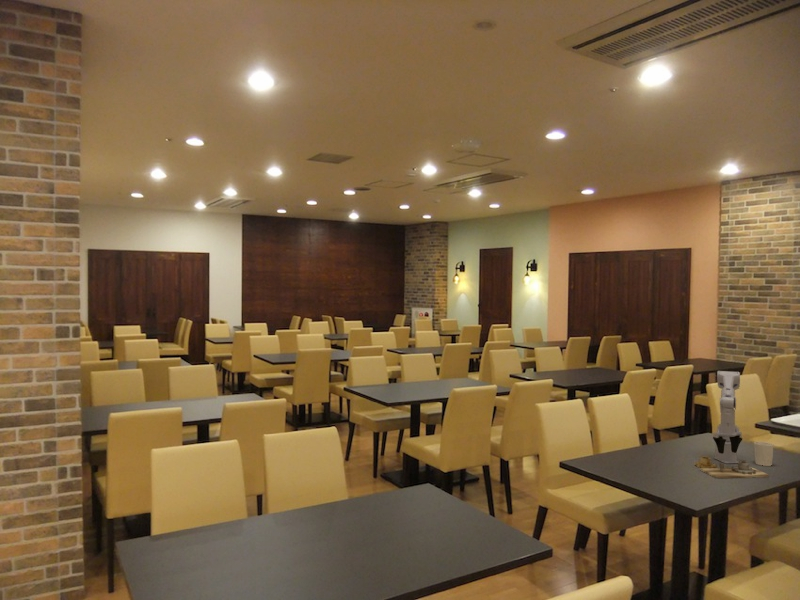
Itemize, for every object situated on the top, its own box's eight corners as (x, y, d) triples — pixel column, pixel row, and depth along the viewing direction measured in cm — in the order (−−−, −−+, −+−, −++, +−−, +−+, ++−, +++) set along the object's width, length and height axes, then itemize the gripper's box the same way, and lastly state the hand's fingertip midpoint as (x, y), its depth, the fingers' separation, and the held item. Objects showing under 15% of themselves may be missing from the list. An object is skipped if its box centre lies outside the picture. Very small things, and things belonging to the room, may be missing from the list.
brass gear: (690, 463, 281) (690, 455, 281) (708, 463, 282) (709, 454, 282) (702, 469, 271) (702, 461, 271) (721, 469, 272) (721, 460, 272)
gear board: (700, 470, 270) (700, 457, 270) (751, 469, 272) (751, 456, 272) (716, 478, 258) (716, 465, 258) (769, 477, 260) (769, 463, 260)
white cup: (770, 462, 282) (770, 442, 282) (775, 467, 275) (775, 446, 275) (752, 461, 285) (752, 441, 285) (756, 465, 278) (756, 444, 277)
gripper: (722, 425, 261) (722, 455, 260) (747, 424, 265) (747, 454, 264) (709, 422, 267) (709, 452, 267) (734, 421, 272) (734, 450, 271)
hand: (727, 452), depth 266 cm, fingers open, 7 cm apart
